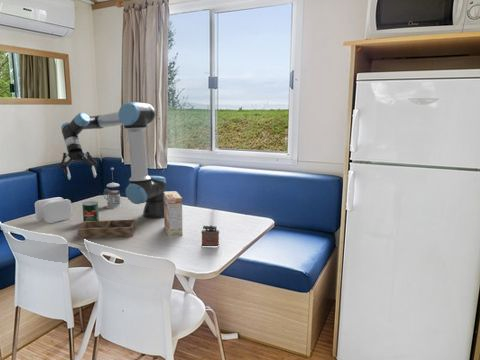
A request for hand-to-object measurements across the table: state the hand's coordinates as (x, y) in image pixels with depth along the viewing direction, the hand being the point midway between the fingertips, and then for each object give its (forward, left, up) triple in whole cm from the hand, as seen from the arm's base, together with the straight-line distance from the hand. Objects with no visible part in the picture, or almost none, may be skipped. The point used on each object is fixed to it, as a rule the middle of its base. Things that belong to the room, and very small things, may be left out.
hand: (83, 177), depth 197 cm
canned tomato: (-5, +8, -24) cm, 26 cm away
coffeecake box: (-49, +27, -24) cm, 60 cm away
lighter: (-66, +50, -24) cm, 86 cm away
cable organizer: (+16, +1, -24) cm, 29 cm away
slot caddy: (-17, +26, -24) cm, 39 cm away
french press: (-11, -24, -24) cm, 36 cm away
